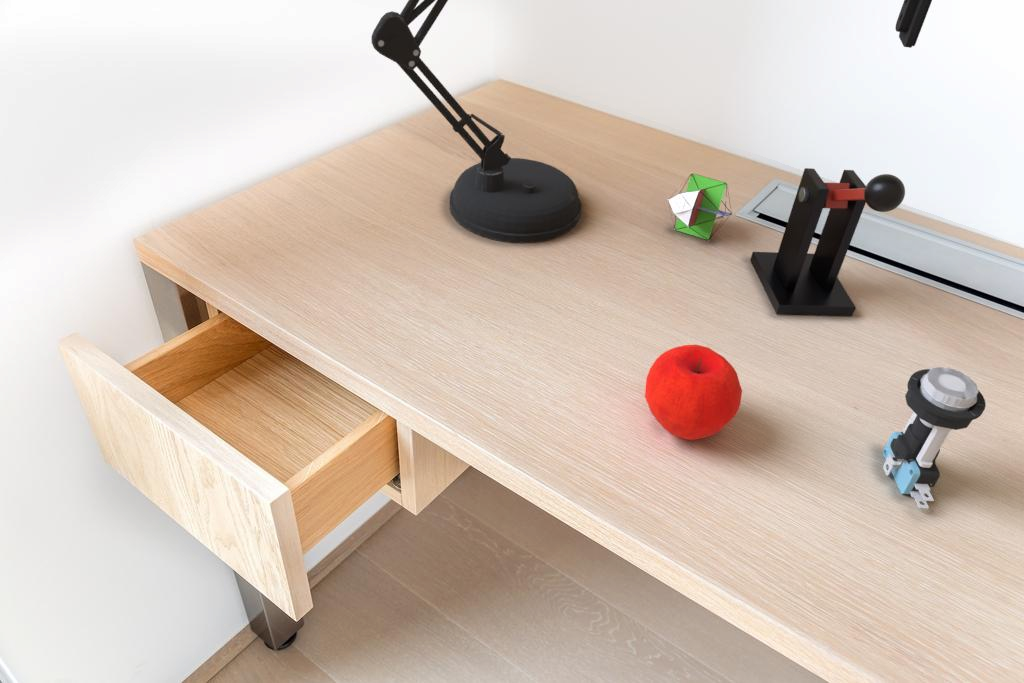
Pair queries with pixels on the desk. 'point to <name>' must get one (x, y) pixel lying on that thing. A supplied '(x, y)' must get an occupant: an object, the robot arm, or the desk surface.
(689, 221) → the geometric puzzle
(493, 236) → the desk lamp
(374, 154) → the desk surface
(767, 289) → the bracket
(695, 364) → the apple
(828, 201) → the lever
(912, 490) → the push button
